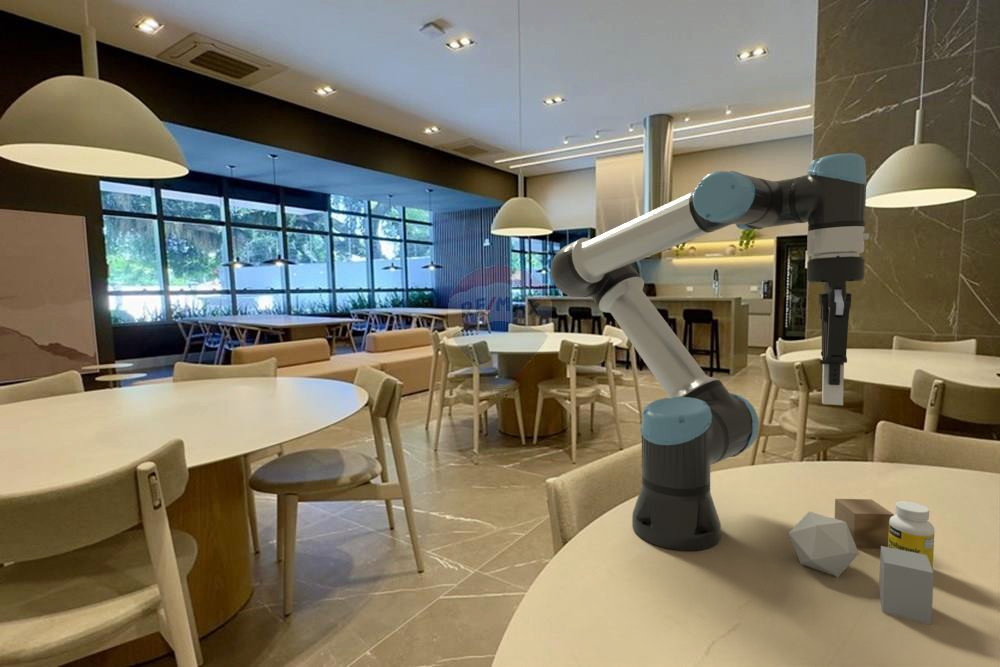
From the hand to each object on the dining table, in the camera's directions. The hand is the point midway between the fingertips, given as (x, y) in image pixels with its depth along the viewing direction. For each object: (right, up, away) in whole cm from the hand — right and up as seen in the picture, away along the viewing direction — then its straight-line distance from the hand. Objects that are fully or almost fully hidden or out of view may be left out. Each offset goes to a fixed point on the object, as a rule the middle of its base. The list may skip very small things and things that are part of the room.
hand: (832, 403), depth 82 cm
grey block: (+1, -26, -14) cm, 29 cm away
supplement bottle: (+9, -25, -4) cm, 27 cm away
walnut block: (+8, -24, +5) cm, 26 cm away
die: (-4, -25, -3) cm, 26 cm away
